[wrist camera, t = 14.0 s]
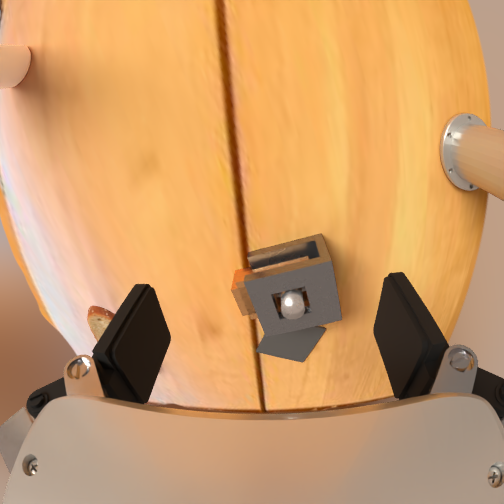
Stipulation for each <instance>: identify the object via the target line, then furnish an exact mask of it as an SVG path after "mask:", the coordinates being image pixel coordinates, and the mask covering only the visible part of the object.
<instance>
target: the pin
mask: <svg viewBox="0 0 504 504" xmlns="http://www.w3.org/2000/svg"><path fill="white" fill-rule="evenodd" d="M281 312H282V315H283V316H284V317H285V318H287V319H291V320H293V319H298V318H300V317H301V316H302V315H303V314H304V312H305V307H304V300H303V293H302V287H301V288H297V289H292V290H288V291H284V292H281Z"/></svg>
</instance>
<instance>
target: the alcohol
mask: <svg viewBox="0 0 504 504" xmlns="http://www.w3.org/2000/svg"><path fill="white" fill-rule="evenodd" d="M30 62H31V53H30V50H29V49H28V47H27V46H25V45H11V44H0V89H3V88H12V87H15V86H16V85H17V84H19V83H20V82H21V81H22V80H23V79H24V77H25V76H26V74H27V72H28V69H29V66H30Z"/></svg>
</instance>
